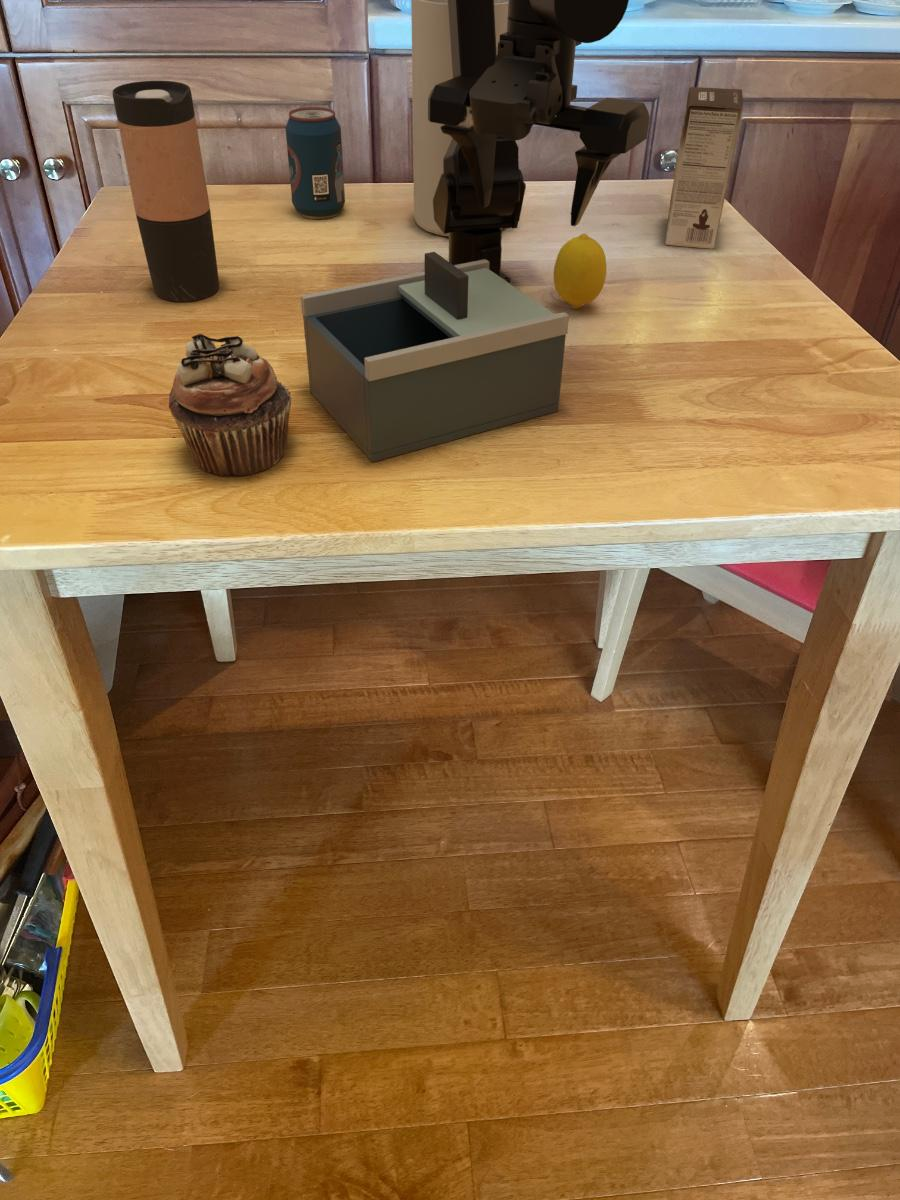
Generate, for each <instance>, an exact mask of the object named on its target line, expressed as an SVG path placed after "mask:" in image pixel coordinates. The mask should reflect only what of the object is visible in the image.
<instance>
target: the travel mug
mask: <svg viewBox="0 0 900 1200" xmlns="http://www.w3.org/2000/svg"><path fill="white" fill-rule="evenodd" d="M112 100H113V104H114V110H115V115H116V119H117V120H116V121H117V125H118V130H119V131H118V132H119V136H120V140H121V146H122V150H123V157H124V160H125V161H124V162H125V165H126V171H127V176H128V181H129V186H130V191H131V197H132V201H133V207H134V212H135V218H136V222H137V226H138V230H139V234H140V238H141V242H142V246H143V250H144V255H145V259H146V264H147V267H148V268H147V269H148V271H149V276H150V280H151V284H152V289H153V292H154V294H155V295H156V297H158V298H160V299H162V300H164V301H167V302H175V303H187V302H195V301H200V300H204V299H207V298H209V297H211V296H213V295H215V294H216V293H217V292H218V291H219V289H220V280H219V270H218V264H217V263H218V262H217V255H216V245H215V239H214V238H215V237H214V230H213V229H214V228H213V222H212V212H211V205H210V200H209V193H208V187H207V181H206V175H205V169H204V162H203V156H202V150H201V144H200V138H199V132H198V131H199V130H198V125H197V119H196V113H195V107H194V100H193V94H192V89H191V87H190V85H188V84H186V83H184V82H180V81H174V80H173V81H172V80H141V81H134V82H128V83H125V84H121V85H118V86H116V87H115V88H113V90H112Z"/></svg>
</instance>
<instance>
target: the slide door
mask: <svg viewBox="0 0 900 1200" xmlns="http://www.w3.org/2000/svg"><path fill="white" fill-rule="evenodd" d="M424 271H425V280H423V281H418V282H413V283H408V284H403V285H399V286H398V291H399V292H400V293H401V294H402V295H403V296H404V297H406V298H407V299H408V300H409V301H411V302H412V303H413V304H414V305H415V306H417V307H418V308H419V309H420V310H422V311H423V312H424V313H425V314H427V315H428V316H429V317H430V318H431V319H433V320H434V321H435V322H436V323H438V324H439V325H440V326H441V327H443V328H444V329H445V330H446V331H447V332H449V333H450V334H451V335H452V336H454V337H457V336H462V335H466V334H471V333H475V332H479V331H484V330H488V329H492V328H497V327H501V326H505V325H510V324H514V323H519V322H523V321H527V320H532V319H536V318H540V317H545V316H549V315H553V314H555V313H554V312H552V311H551V310H549V309H548V308H546V307H545V306H543V305H542V304H541V303H539V302H537V301H536V300H534V299H533V298H532V297H530V296H529V295H527V294H526V293H525V292H523V291H521V290H520V289H518V288H517V287H516V286H514V285H513V284H511V283H508V282H507V281H505V280H504V279H502V278H501V277H499V276H498V275H496V274H495V273H493V272H492V271H490V270H489V269H487V268H483V269H478V270H473V271H468V272H462V271H461V270H459V269H458V268H457V267H455V266H454V265H452V264H451V263H450V262H449V260H448V259H447V260H446V258H444V257H443V256H441V255H440V254H439V253H437V252H436V251H430V252H425V253H424Z"/></svg>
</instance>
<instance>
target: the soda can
mask: <svg viewBox="0 0 900 1200" xmlns="http://www.w3.org/2000/svg"><path fill="white" fill-rule="evenodd" d="M285 139H286V149H287V150H286V151H287V160H288V161H287V162H288V171H289V172H288V173H289V183H290V195H291V203H292V206H293V207H294V209H295V210H296V212H297V213H298V215H299V216H301V217H303V218H306V219H311V220H325V219H326V220H327V219H330V218H331V219H332V218H334V217H338V216H339V215H340V214H341V212H342V210H343V209H344V206H345V203H346V193H345V176H344V175H345V174H344V158H343V142H342V128H341V124H340V123H339V121H338V119H337V117H336V112H335V110H333V109H332V108H328V107H322V106H321V107H320V106H305V107H304V106H303V107H299V108H294V109H291V110H290V111H289V112H288V120H287V122H286V125H285Z"/></svg>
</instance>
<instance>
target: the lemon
mask: <svg viewBox="0 0 900 1200" xmlns="http://www.w3.org/2000/svg"><path fill="white" fill-rule="evenodd" d="M606 259H607V258H606V254H605V251H604V249H603V247H602V245H601V244H600V243H599V242H598V241H597V240H595V239H594V238H592V237H589V235H588V234H587V233H580V234H579V236H576V237H572V238H571V239H569V240H567V242H565V243H564V244H563V245H562V247H560V250H559V251H558V253H557V256H556V259H555V262H554V267H553V285H554V287H555V290H556V293H557V295H558V296H559V298H561V300H563V301H564V302H565V303H567V304H570V306H571V307H572V309H574V310H578V309H580V308H581V307H582V306H583V305H587V304H589V303H591V302H593V301H594V300H595V299H596V298H598V296H599V295H600V294H601V292H602V290H603V288H604V285H605V283H606V282H605V281H606V278H607V260H606Z"/></svg>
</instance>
